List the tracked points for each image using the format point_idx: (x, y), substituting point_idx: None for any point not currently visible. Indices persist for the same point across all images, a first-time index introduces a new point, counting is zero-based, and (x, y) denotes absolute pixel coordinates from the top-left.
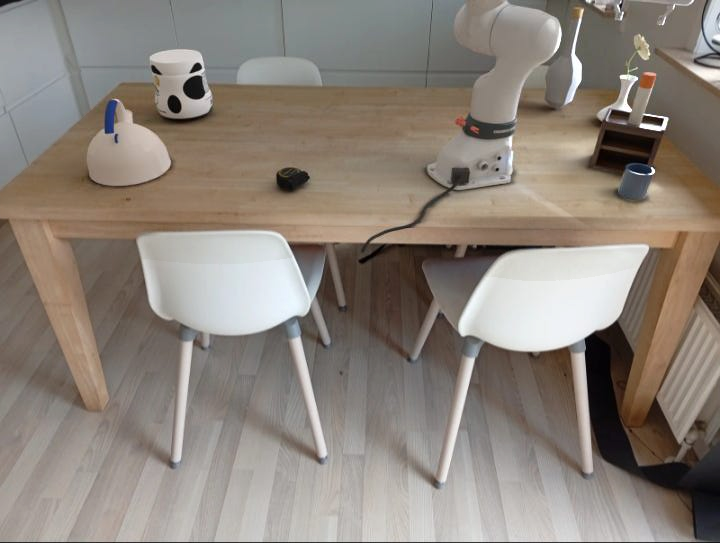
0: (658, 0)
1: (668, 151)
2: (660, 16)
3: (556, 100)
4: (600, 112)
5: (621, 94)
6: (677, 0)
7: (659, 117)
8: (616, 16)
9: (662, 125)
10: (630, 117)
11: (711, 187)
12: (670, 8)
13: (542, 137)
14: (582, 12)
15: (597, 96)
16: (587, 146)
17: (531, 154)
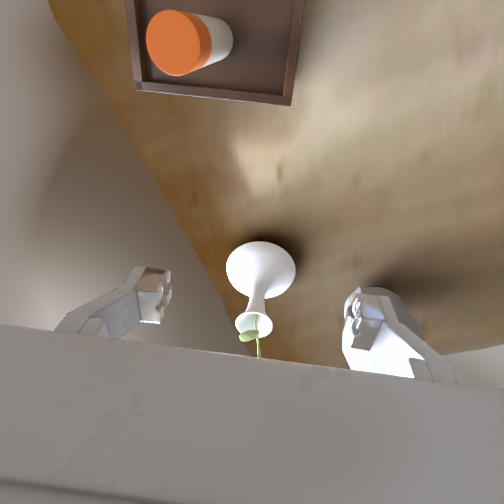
0: (146, 353)
1: (160, 169)
2: (147, 295)
3: (378, 289)
4: (291, 271)
5: (261, 296)
6: (6, 343)
7: (155, 82)
8: (385, 304)
9: (134, 5)
10: (226, 26)
11: (53, 10)
12: (81, 319)
13: (406, 143)
14: None
15: (295, 355)
16: (308, 131)
17: (446, 17)
